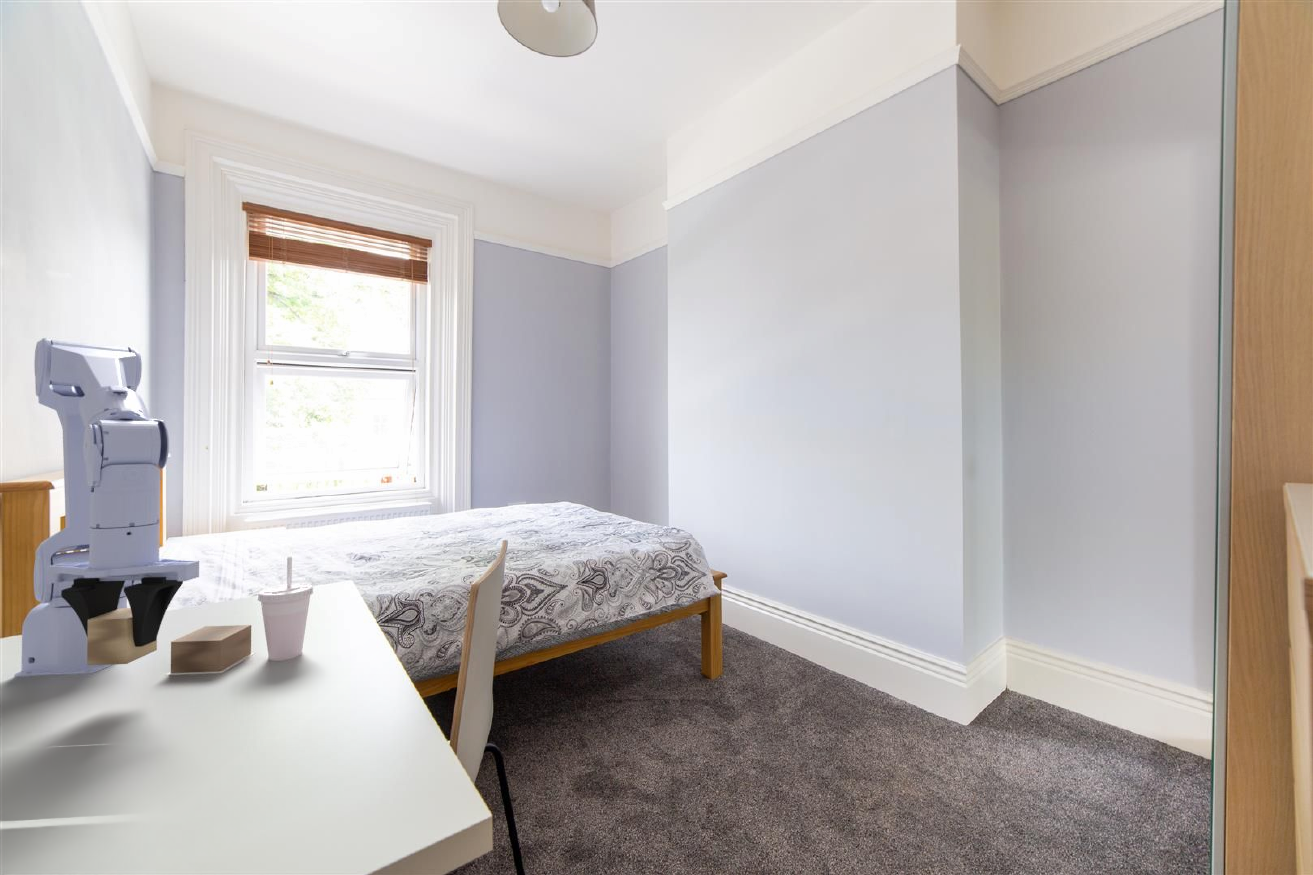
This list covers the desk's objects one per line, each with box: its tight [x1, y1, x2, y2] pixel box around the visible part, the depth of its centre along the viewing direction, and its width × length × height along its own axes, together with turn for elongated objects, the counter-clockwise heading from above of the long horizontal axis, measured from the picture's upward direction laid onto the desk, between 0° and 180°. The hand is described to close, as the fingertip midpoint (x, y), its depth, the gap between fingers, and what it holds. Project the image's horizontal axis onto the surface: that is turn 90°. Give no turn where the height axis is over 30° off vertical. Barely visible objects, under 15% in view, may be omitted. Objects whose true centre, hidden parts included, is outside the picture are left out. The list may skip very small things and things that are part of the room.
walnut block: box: [170, 624, 252, 673], centre depth 73 cm, size 6×6×4 cm
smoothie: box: [257, 556, 314, 662], centre depth 75 cm, size 6×6×14 cm
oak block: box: [87, 607, 158, 666], centre depth 62 cm, size 4×4×5 cm
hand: (124, 644), depth 62 cm, fingers closed on oak block, 4 cm apart
